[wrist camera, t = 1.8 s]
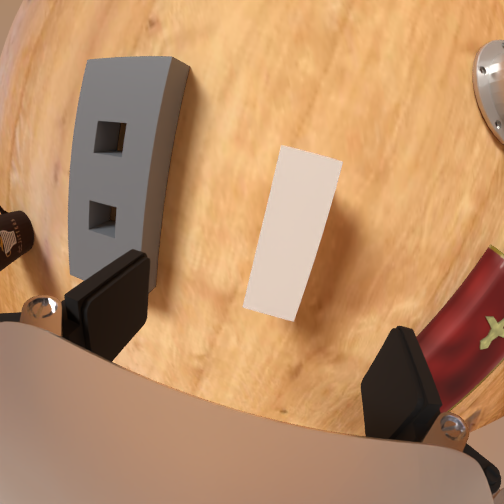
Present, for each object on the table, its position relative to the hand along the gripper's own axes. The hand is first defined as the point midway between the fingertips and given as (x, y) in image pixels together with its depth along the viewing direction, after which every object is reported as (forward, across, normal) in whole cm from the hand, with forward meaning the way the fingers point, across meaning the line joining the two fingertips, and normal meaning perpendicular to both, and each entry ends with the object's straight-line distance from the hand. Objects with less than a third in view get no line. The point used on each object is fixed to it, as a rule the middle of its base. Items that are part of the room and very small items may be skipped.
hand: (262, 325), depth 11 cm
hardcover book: (+19, -24, +8) cm, 32 cm away
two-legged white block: (+18, 0, 0) cm, 18 cm away
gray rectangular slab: (+18, +18, 0) cm, 26 cm away
